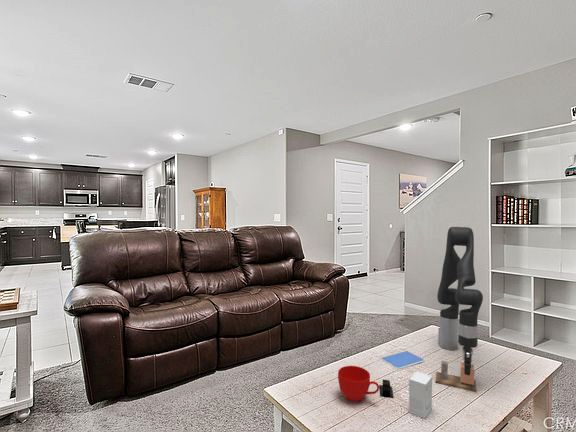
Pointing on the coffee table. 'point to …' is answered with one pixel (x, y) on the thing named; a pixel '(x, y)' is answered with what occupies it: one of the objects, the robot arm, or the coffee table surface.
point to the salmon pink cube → (467, 378)
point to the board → (452, 379)
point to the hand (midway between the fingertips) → (467, 370)
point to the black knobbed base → (386, 389)
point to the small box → (420, 394)
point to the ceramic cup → (355, 382)
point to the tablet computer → (402, 360)
